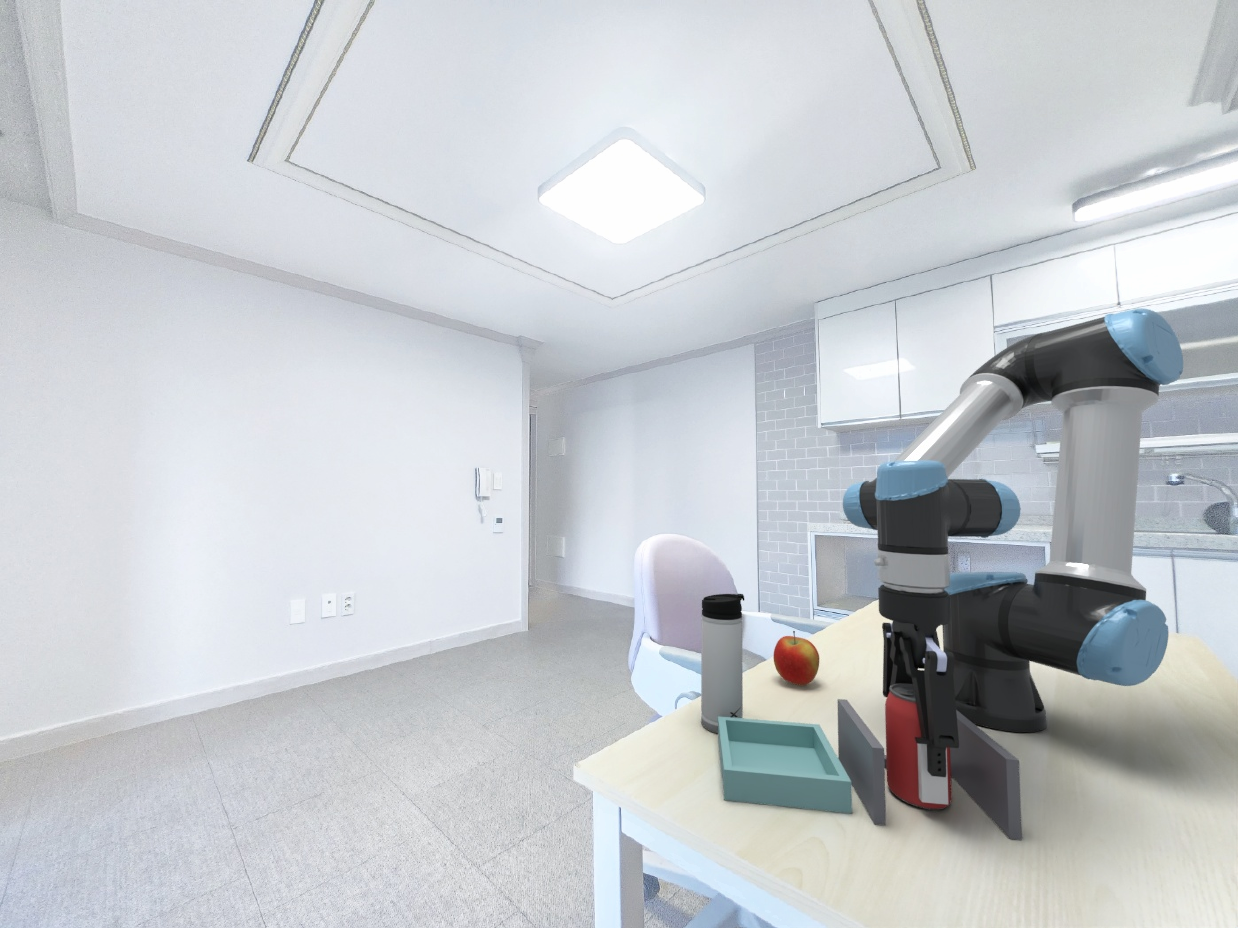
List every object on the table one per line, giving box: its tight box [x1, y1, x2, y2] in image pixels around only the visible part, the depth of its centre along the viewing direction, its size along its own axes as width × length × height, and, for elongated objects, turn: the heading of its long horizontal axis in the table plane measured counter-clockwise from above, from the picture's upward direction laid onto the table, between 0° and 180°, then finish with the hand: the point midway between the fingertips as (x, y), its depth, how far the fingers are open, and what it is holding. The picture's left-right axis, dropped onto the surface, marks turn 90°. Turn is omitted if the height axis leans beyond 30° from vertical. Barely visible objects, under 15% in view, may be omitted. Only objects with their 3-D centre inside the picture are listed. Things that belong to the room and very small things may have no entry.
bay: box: [837, 698, 1023, 841], centre depth 58 cm, size 14×13×8 cm
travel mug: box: [700, 593, 745, 734], centre depth 76 cm, size 6×7×20 cm
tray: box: [717, 716, 853, 814], centre depth 62 cm, size 14×14×3 cm
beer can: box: [884, 683, 953, 811], centre depth 58 cm, size 7×7×12 cm
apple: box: [772, 630, 820, 687], centre depth 93 cm, size 8×8×10 cm
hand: (918, 781), depth 58 cm, fingers open, 7 cm apart
